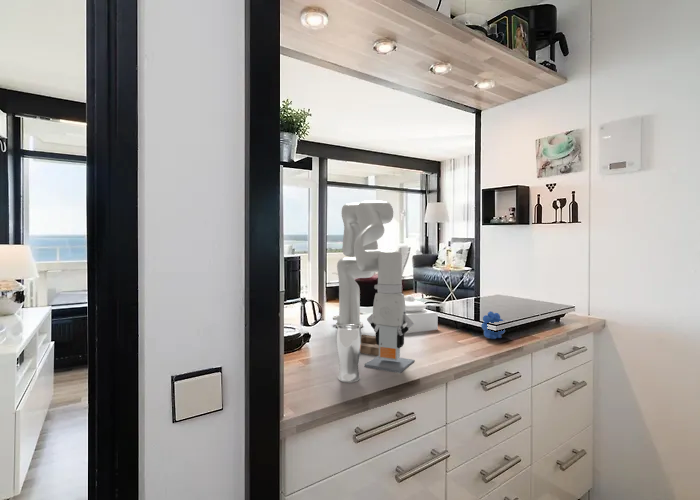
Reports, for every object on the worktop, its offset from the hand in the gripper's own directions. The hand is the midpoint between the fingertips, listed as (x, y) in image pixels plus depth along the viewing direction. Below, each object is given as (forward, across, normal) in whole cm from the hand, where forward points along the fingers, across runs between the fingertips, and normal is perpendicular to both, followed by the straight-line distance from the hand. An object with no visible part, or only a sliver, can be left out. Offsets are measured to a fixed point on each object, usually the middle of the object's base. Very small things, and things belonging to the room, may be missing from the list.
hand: (389, 344), depth 118 cm
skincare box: (+4, 0, 0) cm, 4 cm away
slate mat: (+6, 0, 0) cm, 6 cm away
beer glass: (+7, -5, -17) cm, 19 cm away
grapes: (+7, +24, +47) cm, 53 cm away
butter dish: (+7, -13, +50) cm, 52 cm away
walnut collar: (+7, -14, +13) cm, 20 cm away
